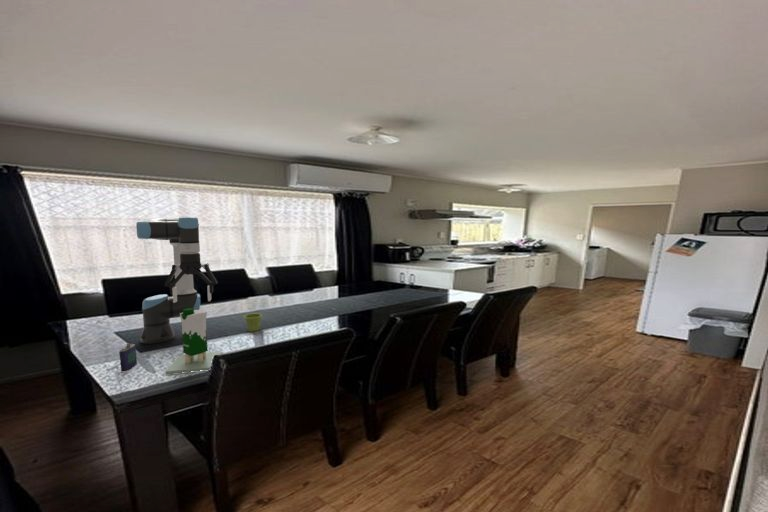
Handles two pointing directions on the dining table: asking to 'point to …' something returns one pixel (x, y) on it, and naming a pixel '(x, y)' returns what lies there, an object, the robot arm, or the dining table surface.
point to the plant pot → (253, 322)
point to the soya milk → (194, 331)
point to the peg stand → (192, 363)
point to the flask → (128, 357)
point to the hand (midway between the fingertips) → (192, 301)
